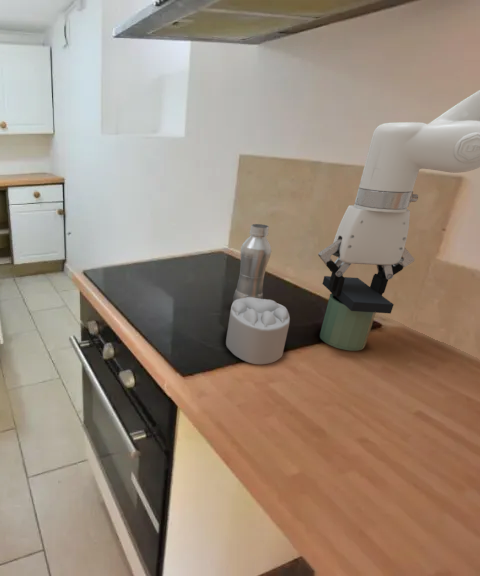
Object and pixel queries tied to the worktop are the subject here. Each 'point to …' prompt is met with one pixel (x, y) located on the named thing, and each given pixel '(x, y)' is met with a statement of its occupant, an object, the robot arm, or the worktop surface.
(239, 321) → the lumpy-topped squat cylinder
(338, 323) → the cup
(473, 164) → the robot arm
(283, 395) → the worktop surface
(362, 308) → the dark blue flat block
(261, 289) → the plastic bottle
